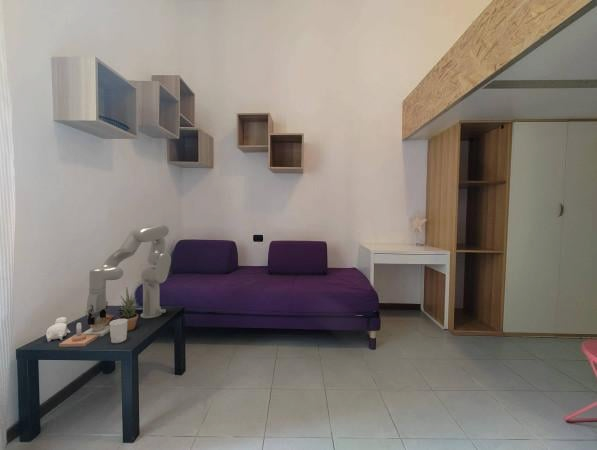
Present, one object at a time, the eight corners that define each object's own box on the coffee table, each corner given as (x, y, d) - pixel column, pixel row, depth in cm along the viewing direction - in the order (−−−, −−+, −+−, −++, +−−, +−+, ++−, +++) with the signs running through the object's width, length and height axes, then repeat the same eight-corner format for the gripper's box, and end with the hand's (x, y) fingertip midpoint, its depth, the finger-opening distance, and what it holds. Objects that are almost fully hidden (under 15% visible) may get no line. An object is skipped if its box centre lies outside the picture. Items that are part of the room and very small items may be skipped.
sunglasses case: (109, 325, 163) (102, 316, 161) (96, 333, 160) (89, 324, 159) (115, 315, 179) (109, 307, 178) (104, 322, 177) (97, 314, 175)
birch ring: (108, 322, 157) (108, 317, 157) (100, 327, 150) (100, 322, 150) (96, 322, 157) (95, 317, 156) (87, 327, 150) (87, 322, 150)
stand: (114, 328, 159) (114, 314, 159) (102, 336, 148) (102, 321, 148) (94, 328, 159) (94, 314, 158) (81, 336, 148) (80, 322, 147)
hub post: (97, 337, 147) (97, 319, 146) (84, 346, 137) (84, 326, 136) (74, 338, 146) (73, 319, 146) (59, 346, 136) (58, 326, 136)
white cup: (108, 344, 138) (107, 325, 138) (111, 338, 146) (111, 319, 145) (126, 342, 142) (126, 323, 141) (128, 336, 149) (128, 317, 149)
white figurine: (66, 344, 146) (73, 324, 158) (64, 331, 143) (71, 312, 155) (45, 347, 142) (53, 327, 154) (42, 334, 139) (51, 315, 151)
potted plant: (123, 326, 162) (122, 284, 162) (140, 324, 164) (140, 284, 164) (115, 333, 153) (115, 289, 152) (134, 331, 155) (133, 288, 154)
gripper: (100, 287, 161) (100, 316, 161) (79, 294, 144) (78, 327, 144) (114, 287, 162) (113, 316, 162) (94, 294, 144) (93, 327, 144)
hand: (97, 321), depth 153 cm, fingers open, 9 cm apart
